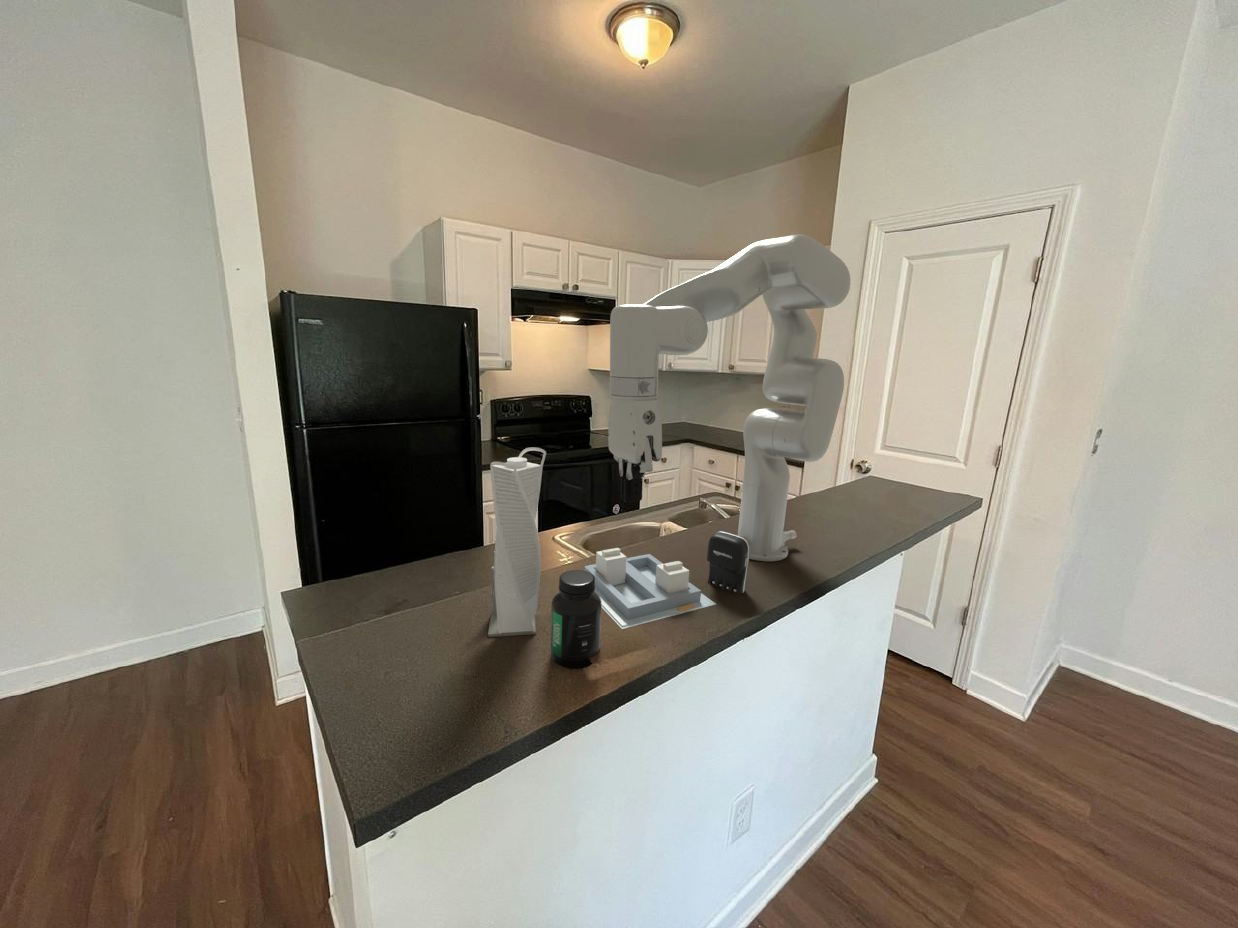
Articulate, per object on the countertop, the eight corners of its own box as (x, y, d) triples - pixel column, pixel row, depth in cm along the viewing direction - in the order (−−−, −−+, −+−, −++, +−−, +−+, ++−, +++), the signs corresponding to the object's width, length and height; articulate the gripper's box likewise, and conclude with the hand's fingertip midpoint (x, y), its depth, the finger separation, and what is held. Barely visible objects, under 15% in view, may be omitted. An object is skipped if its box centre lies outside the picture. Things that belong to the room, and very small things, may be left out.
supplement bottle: (552, 673, 64) (553, 590, 62) (549, 643, 71) (550, 567, 68) (603, 668, 66) (606, 587, 63) (595, 639, 72) (597, 565, 70)
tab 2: (673, 587, 86) (675, 557, 84) (687, 597, 82) (689, 566, 81) (654, 591, 84) (656, 560, 83) (667, 602, 80) (669, 570, 79)
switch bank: (652, 564, 98) (653, 548, 98) (715, 612, 81) (717, 593, 81) (570, 581, 90) (570, 564, 89) (621, 637, 73) (622, 616, 72)
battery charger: (700, 592, 88) (705, 533, 85) (711, 585, 91) (716, 528, 88) (735, 606, 84) (742, 544, 81) (745, 598, 86) (752, 538, 84)
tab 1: (614, 573, 90) (616, 544, 89) (625, 582, 87) (626, 552, 86) (595, 577, 88) (596, 547, 87) (605, 586, 85) (606, 556, 84)
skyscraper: (544, 609, 80) (545, 442, 74) (545, 637, 72) (547, 454, 66) (491, 612, 79) (488, 442, 72) (487, 641, 71) (482, 453, 64)
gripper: (681, 392, 71) (676, 510, 75) (630, 383, 84) (628, 485, 88) (637, 394, 67) (634, 518, 72) (591, 385, 80) (591, 491, 85)
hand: (631, 500), depth 80 cm, fingers closed
